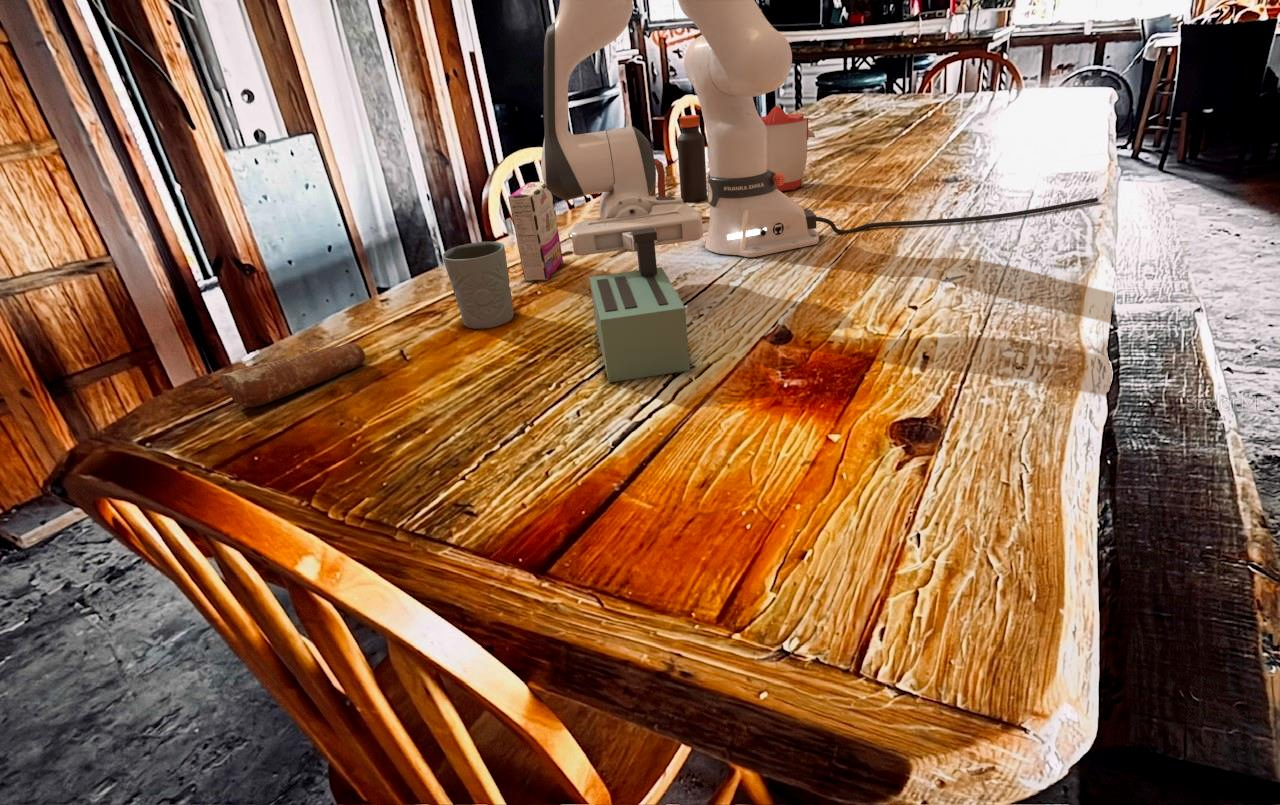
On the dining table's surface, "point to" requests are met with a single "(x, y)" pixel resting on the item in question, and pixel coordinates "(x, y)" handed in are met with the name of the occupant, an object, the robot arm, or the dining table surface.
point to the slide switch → (646, 250)
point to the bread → (289, 374)
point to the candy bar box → (536, 231)
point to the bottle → (691, 160)
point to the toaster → (639, 325)
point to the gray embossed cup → (480, 283)
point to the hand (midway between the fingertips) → (643, 245)
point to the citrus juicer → (787, 146)
